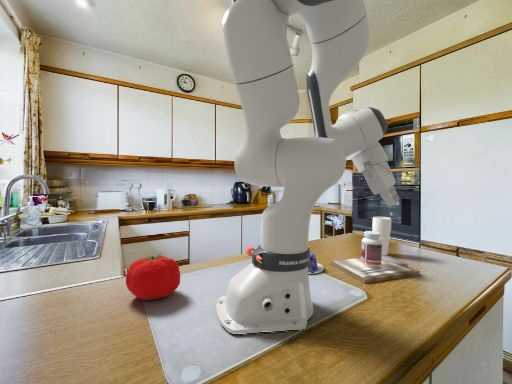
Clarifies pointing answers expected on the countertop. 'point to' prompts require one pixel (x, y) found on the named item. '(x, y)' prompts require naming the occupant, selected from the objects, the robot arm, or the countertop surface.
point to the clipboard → (375, 269)
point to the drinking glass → (382, 231)
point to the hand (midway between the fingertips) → (394, 203)
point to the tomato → (153, 277)
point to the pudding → (314, 265)
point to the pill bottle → (371, 249)
